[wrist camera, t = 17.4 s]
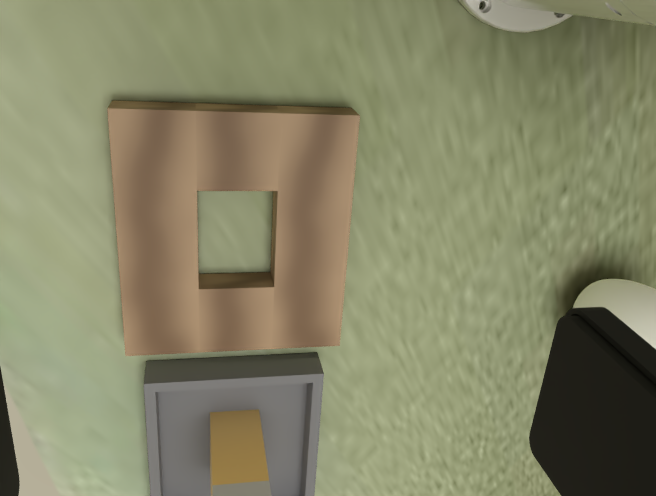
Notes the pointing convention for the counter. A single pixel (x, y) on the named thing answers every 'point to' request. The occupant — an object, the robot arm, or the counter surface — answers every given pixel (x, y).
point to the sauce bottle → (624, 304)
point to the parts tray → (232, 395)
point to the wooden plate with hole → (231, 175)
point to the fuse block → (237, 454)
